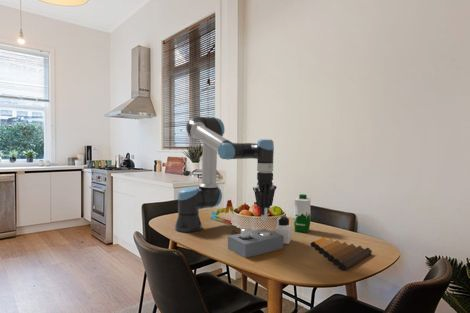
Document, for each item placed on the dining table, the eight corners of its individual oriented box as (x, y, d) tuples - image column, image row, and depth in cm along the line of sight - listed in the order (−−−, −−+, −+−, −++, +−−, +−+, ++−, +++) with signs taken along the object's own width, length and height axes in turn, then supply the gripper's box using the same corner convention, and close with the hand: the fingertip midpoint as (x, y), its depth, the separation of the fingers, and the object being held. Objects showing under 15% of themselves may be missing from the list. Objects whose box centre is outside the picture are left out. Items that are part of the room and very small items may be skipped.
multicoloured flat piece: (210, 219, 197) (210, 196, 197) (214, 218, 200) (214, 196, 199) (240, 229, 174) (240, 203, 174) (244, 228, 176) (244, 202, 176)
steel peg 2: (257, 243, 144) (257, 233, 144) (265, 241, 147) (265, 231, 147) (264, 246, 140) (264, 235, 140) (272, 244, 143) (272, 234, 143)
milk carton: (311, 229, 173) (311, 194, 172) (308, 233, 164) (309, 197, 164) (295, 227, 176) (296, 193, 175) (292, 231, 168) (293, 196, 167)
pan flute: (346, 272, 115) (372, 255, 133) (346, 263, 115) (372, 248, 133) (292, 255, 133) (320, 242, 151) (292, 248, 133) (321, 236, 151)
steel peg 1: (238, 239, 138) (238, 228, 138) (247, 237, 141) (247, 227, 141) (244, 242, 134) (244, 231, 134) (253, 240, 137) (253, 229, 137)
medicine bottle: (291, 239, 154) (291, 216, 153) (288, 244, 147) (289, 219, 146) (277, 238, 156) (277, 215, 156) (274, 242, 149) (274, 218, 149)
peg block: (227, 248, 140) (227, 235, 140) (264, 240, 153) (264, 228, 152) (245, 258, 129) (245, 244, 129) (283, 248, 141) (283, 235, 141)
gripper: (259, 173, 136) (258, 225, 137) (280, 172, 143) (279, 221, 144) (249, 171, 142) (248, 221, 143) (270, 170, 149) (269, 217, 150)
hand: (264, 221), depth 144 cm, fingers closed
